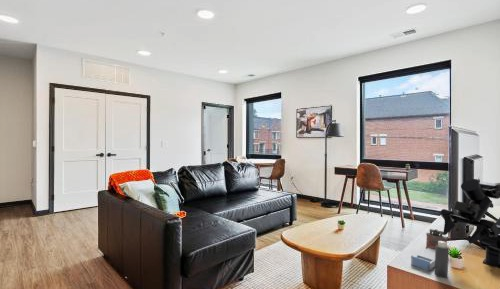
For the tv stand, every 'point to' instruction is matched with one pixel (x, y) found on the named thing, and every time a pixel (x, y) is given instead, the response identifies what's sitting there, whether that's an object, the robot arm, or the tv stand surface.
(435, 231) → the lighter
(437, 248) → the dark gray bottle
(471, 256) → the tv stand surface
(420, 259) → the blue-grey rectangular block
